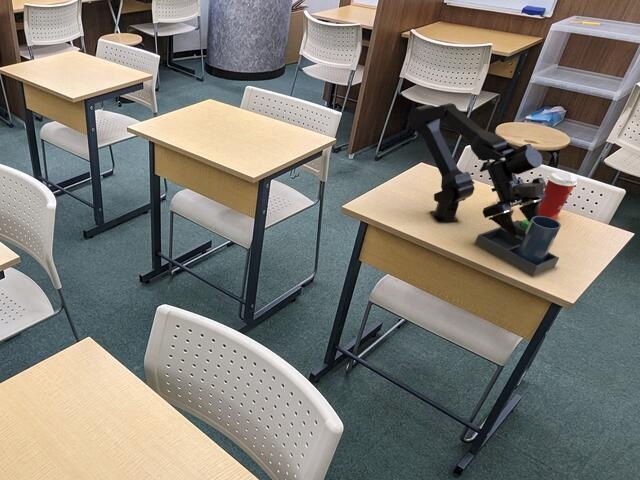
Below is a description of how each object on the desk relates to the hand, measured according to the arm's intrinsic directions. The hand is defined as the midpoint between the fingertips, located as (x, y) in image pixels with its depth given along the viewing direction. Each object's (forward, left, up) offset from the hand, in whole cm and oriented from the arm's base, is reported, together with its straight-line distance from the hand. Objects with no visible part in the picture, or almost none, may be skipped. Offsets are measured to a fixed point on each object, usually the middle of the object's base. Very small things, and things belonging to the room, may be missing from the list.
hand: (525, 231), depth 153 cm
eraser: (-29, +11, -9) cm, 32 cm away
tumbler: (+4, +2, -8) cm, 9 cm away
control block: (-10, +8, -8) cm, 15 cm away
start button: (-10, +8, -5) cm, 13 cm away
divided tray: (0, 0, -8) cm, 8 cm away
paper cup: (-23, +22, -9) cm, 33 cm away
